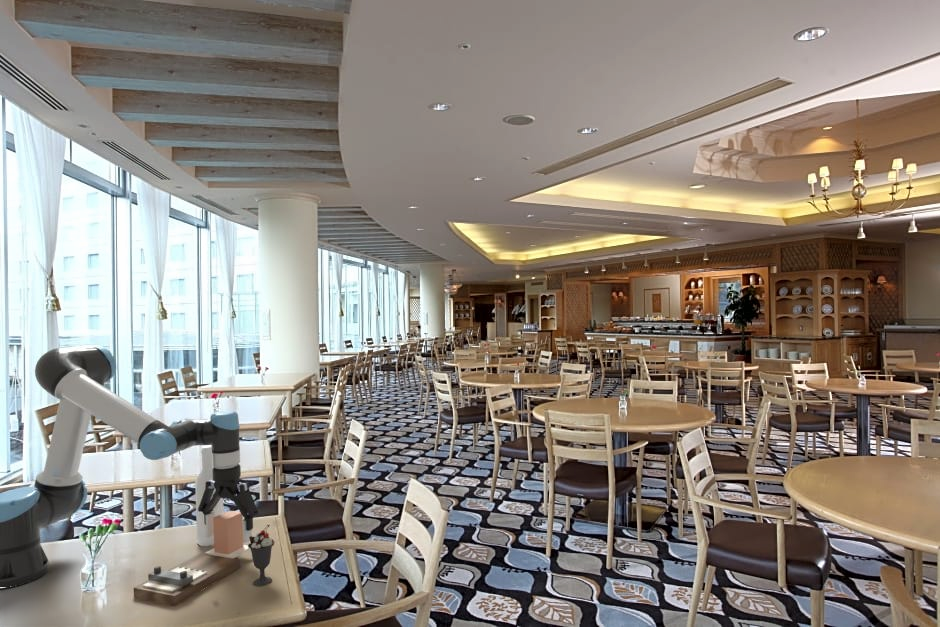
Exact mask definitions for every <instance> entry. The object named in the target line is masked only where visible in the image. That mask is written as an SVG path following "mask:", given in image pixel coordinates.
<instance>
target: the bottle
mask: <svg viewBox="0 0 940 627" xmlns="http://www.w3.org/2000/svg"><path fill="white" fill-rule="evenodd" d="M200 454H201V468H202V469H201V470H200V471H199V472H198V474H196V478H195V481H194V483H195V484H194V486H195V510H196V511H195V512H196V513H195V515H196V518H195V519H196V541H197V542H196V543H198V544H199V545H201V546H200V547H210V546H209V545H213V546H214V535H213V536H211V537H209V538H207V537H206V525H205V523H204V514H203V512H199V511H198V508H199V505H200V502H201V499H202V497H203V494H204V491H205V487H206V482H207V481H209V480H212V479H213V474H212V469H213V467H214V466H212V447H211V445H202V447H201V451H200ZM215 491H216V489H214V491H213V494H214V493H215ZM213 494H212V497H213ZM212 497H211V499H212ZM213 510H214V511H213ZM213 510H212V512H215V517H216V516H218V515H220V514H223V513H224V498H221V499H220V500H219V502H218V503H217V505H216V506H215V507H214V509H213ZM212 512H211V513H212ZM198 544H197V545H198ZM199 545H198V546H199Z"/></svg>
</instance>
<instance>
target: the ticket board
mask: <svg viewBox="0 0 940 627" xmlns="http://www.w3.org/2000/svg"><path fill="white" fill-rule="evenodd" d="M241 564H242V562H241V558H237V557H235V558H233V559H232V558H226V557H220V556H213V555H207V554H206V552H201V553H198V554H197V555H195V556H194V557H191V558H189V559H187V560H186V561H185V560H184V561H183V562H182V563H180V564H178V565H175V566H174V567H171V568H170V569H168V570H166V569H162V566H161V565H159V566H155V567H154V568H153V571H151V572H149V573H148V574H147V576H148V580H146V581H143V582H142V583H140V584H138V585H136V586H134V587H133V598H134V599H138V600H139V599H140V600H144V601H149V602H154V603H159V604H163V605H167V606H168V605H169V606H173V607H176V606H177V605H180V604H181V603H183V602H185V601H187V600H188V599H190V598H191V596H192V597H193V596H195V595H197V594H199V593H200V592H202V591H204V590H205V589H207V588H209V587H211V586H212V585H213V583H214V584H215V582H216V583H217V582H218V581H221V580H222V579H225V577H227V576H229V575H231V574H232V573H235V572H236V571H238V570H240V569H241V568H242V567H241V566H242V565H241ZM220 579H221V580H220ZM208 586H209V587H208ZM206 587H207V588H206ZM204 588H205V589H204ZM203 589H204V590H203ZM201 590H202V591H201ZM198 592H199V593H198ZM196 593H197V594H196ZM194 594H195V595H194ZM189 597H190V598H189ZM186 599H187V600H186ZM184 600H185V601H184ZM179 603H180V604H179Z"/></svg>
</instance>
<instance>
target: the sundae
mask: <svg viewBox="0 0 940 627" xmlns="http://www.w3.org/2000/svg"><path fill="white" fill-rule="evenodd" d="M270 526H271V525H270V524H267V525H266V527H265V528H264V529H263V530H260V532H259V533H257V534H256V535H255V536H253V535H252V536H250V537H249V538H250V541H249V542H250V543H248V545H247V546H248V547H249V548H250V549H249V550H250V552H251V558H252V563H253V566H254V567H255V568H256V569H258V570H259V577H258V578H256V579H254V580H253V581H252V585H253V586H254V587H264V586H267V585H269V584H271V583H272V582H273V578H272V577H269V576H266V573H265V570H266V568H267V567H268V566H269V565H270V563H271V557H272V548H273V546H275V539H272V538H271V536H270V534H269V533H268V532H267V530H268V528H269V527H270Z"/></svg>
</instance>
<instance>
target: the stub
mask: <svg viewBox="0 0 940 627" xmlns="http://www.w3.org/2000/svg"><path fill="white" fill-rule="evenodd" d="M243 519H244V517H243V515H242V514H241V512H240V511H236V510H226V511H225V512H223V514H220V515H218V516H216V517H214V518H213V524H214V545H213V548H211V549H210V550H208V551H205V553H206V554H207V555H213V556H220V557H226V558H232V559H233V558H237V557H239V556H240V555H242V554H245V552H248V551H249V550H251V549H250V548H249V547H248V545H246V544H244V543H243V528H242V520H243Z"/></svg>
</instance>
